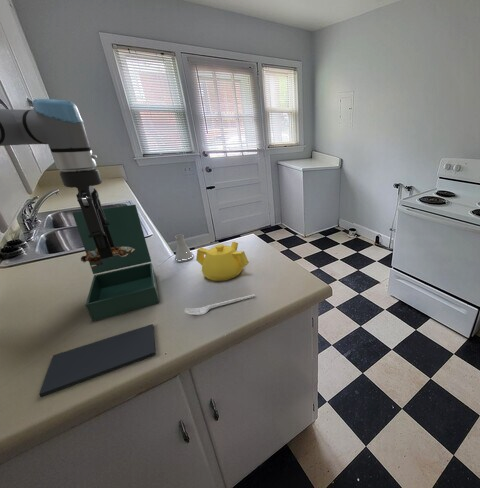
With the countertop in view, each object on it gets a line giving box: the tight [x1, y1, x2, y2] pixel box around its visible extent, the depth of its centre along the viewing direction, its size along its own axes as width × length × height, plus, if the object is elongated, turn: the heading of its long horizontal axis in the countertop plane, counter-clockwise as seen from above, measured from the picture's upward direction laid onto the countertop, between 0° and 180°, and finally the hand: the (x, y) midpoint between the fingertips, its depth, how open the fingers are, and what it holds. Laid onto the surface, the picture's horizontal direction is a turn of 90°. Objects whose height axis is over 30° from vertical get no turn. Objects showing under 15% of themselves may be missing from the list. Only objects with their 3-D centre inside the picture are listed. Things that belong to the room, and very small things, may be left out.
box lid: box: [71, 204, 152, 275], centre depth 89 cm, size 20×16×1 cm
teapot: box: [195, 241, 249, 282], centre depth 99 cm, size 20×18×11 cm
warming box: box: [85, 262, 160, 322], centre depth 85 cm, size 19×16×6 cm
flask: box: [174, 234, 195, 263], centre depth 109 cm, size 7×7×10 cm
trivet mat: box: [38, 323, 157, 397], centre depth 63 cm, size 20×12×1 cm, turn 123°
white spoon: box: [183, 293, 256, 316], centre depth 81 cm, size 3×20×2 cm, turn 118°
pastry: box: [80, 247, 135, 269], centre depth 77 cm, size 7×12×4 cm, turn 154°
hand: (108, 252), depth 76 cm, fingers closed on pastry, 7 cm apart
